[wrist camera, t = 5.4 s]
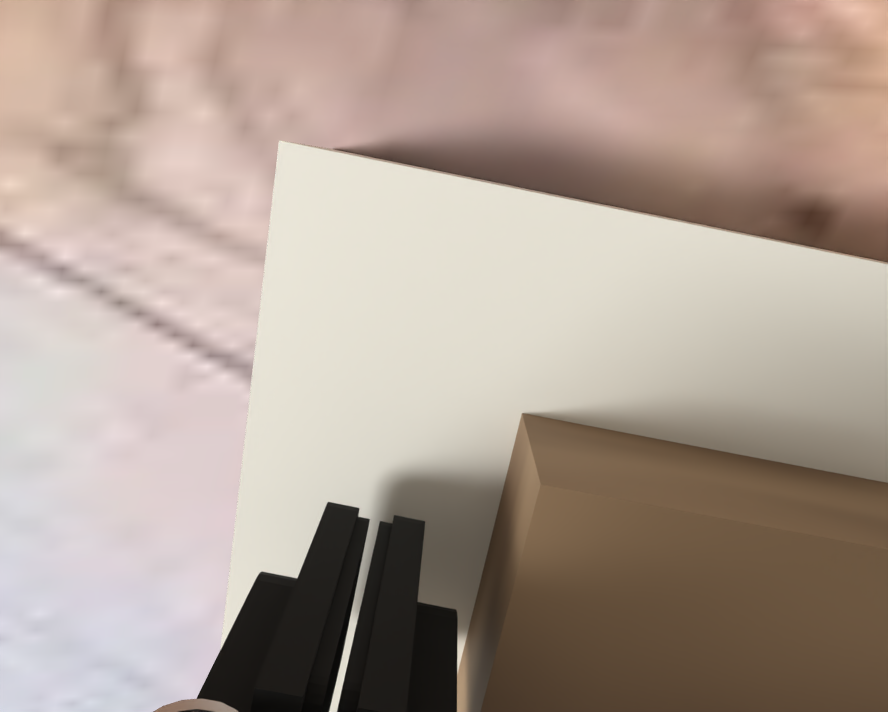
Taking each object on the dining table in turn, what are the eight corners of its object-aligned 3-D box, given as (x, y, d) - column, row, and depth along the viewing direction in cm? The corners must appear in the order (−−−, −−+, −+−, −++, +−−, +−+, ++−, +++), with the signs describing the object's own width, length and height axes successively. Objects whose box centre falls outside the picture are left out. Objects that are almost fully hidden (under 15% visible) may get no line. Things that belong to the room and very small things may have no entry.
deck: (330, 149, 13) (278, 140, 9) (1057, 296, 14) (1287, 345, 10) (265, 622, 17) (207, 758, 13) (852, 726, 17) (965, 885, 13)
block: (522, 413, 11) (541, 484, 8) (924, 490, 11) (1057, 581, 8) (441, 737, 13) (437, 872, 10) (783, 796, 13) (858, 941, 10)
